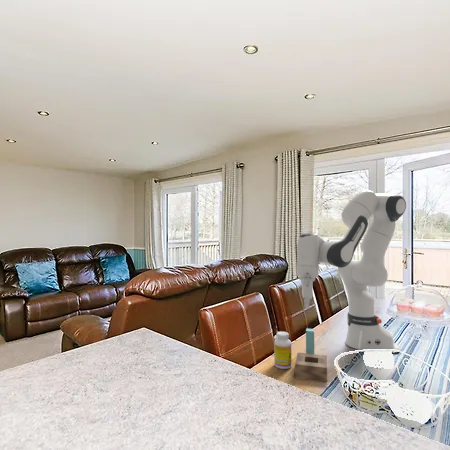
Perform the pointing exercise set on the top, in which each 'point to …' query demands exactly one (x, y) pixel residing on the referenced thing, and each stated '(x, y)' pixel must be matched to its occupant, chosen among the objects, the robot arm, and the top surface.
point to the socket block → (311, 367)
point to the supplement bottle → (282, 351)
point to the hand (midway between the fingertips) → (306, 305)
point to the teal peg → (309, 341)
